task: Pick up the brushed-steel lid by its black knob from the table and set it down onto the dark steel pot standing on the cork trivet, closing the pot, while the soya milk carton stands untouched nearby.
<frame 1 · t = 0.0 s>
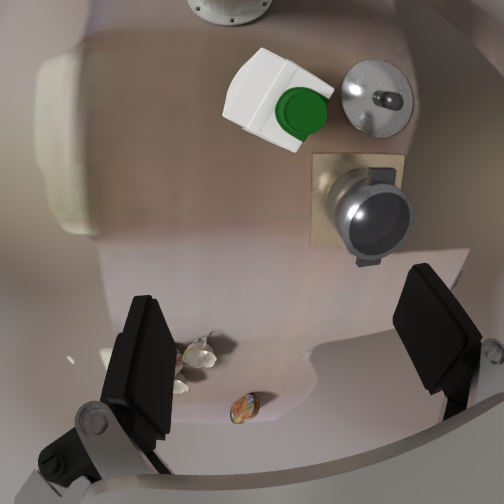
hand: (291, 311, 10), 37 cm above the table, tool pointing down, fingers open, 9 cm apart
soya milk: (258, 94, 37), on the table
lid: (376, 98, 38), on the table
chinaware: (175, 354, 69), on the table
pot: (357, 199, 48), on the table
tin: (243, 398, 87), on the table
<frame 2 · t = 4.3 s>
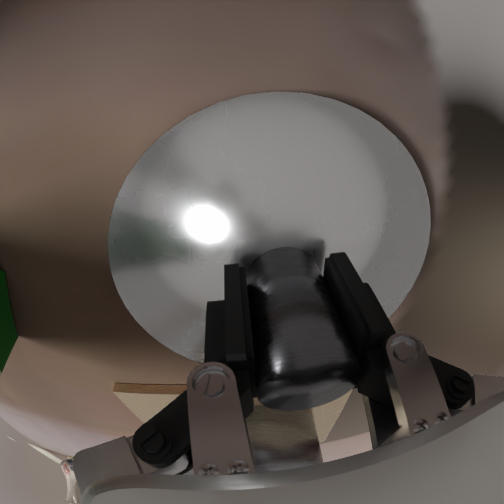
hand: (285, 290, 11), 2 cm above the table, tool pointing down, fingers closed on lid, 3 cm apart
lid: (278, 260, 12), on the table, touching gripper
chinaware: (93, 464, 44), on the table
pot: (244, 424, 23), on the table
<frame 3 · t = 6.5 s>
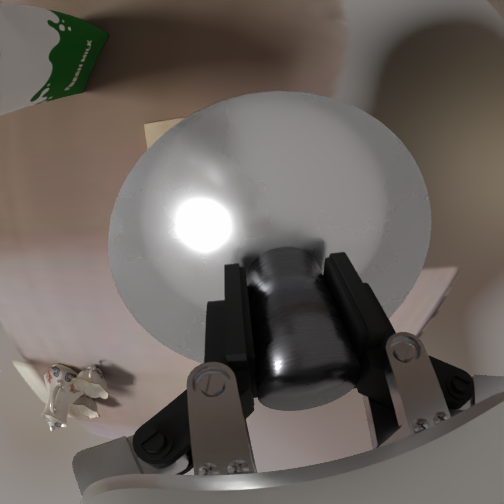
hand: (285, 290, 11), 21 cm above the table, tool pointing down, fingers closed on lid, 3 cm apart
soya milk: (71, 56, 19), on the table
lid: (278, 260, 12), point 19 cm above the table, touching gripper
chinaware: (78, 377, 51), on the table
pot: (239, 193, 30), on the table
when the fingers open (12 cm above the table, at t = 8.6 s): lid stays where it is, resting on pot.
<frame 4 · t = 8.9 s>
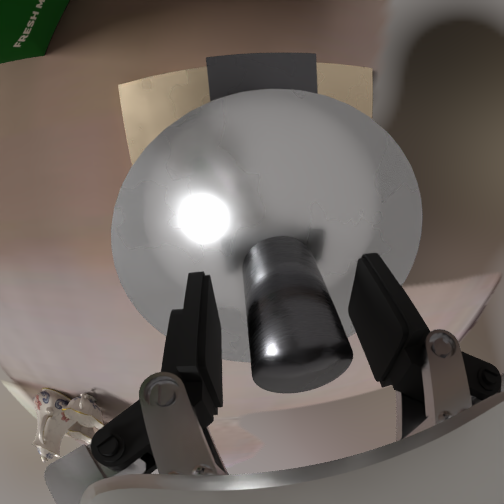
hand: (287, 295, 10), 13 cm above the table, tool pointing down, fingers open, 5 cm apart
soya milk: (34, 16, 10), on the table
lid: (274, 251, 13), point 10 cm above the table, touching pot
chinaware: (71, 402, 43), on the table
pot: (256, 180, 21), on the table
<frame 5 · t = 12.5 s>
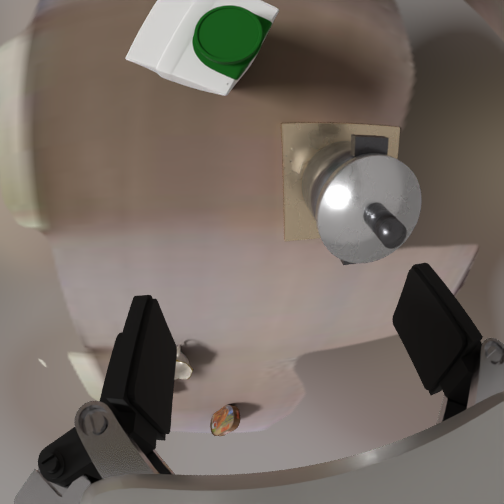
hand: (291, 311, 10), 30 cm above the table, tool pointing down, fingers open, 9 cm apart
soya milk: (213, 56, 28), on the table
lid: (370, 209, 31), point 10 cm above the table, touching pot
chinaware: (150, 362, 61), on the table
pot: (342, 181, 39), on the table
tin: (224, 409, 78), on the table
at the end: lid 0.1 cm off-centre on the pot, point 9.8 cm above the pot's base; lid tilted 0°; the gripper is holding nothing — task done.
